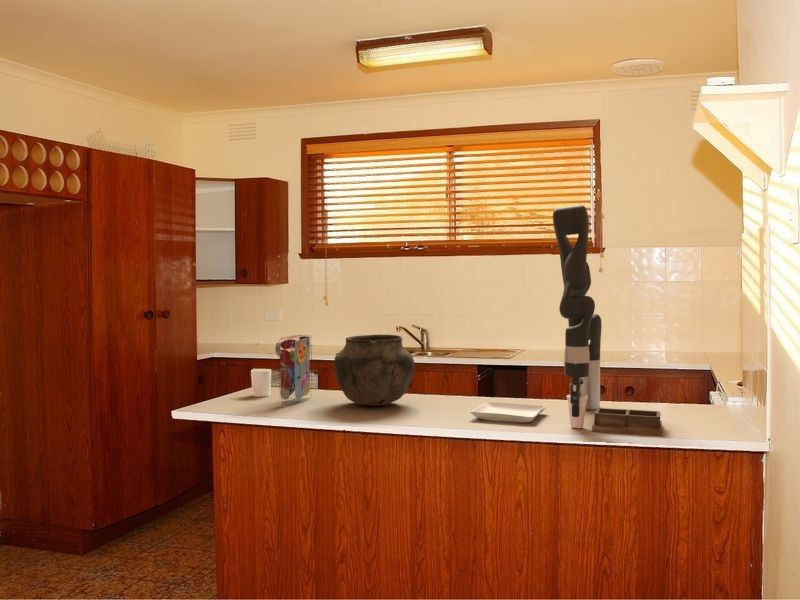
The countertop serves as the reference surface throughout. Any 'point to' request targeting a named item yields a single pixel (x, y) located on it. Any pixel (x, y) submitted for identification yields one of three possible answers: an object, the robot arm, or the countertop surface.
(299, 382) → the box
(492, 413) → the salad plate
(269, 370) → the white cup
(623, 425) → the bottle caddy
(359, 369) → the pot
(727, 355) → the countertop surface
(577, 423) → the smoothie
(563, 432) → the countertop surface
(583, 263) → the robot arm
